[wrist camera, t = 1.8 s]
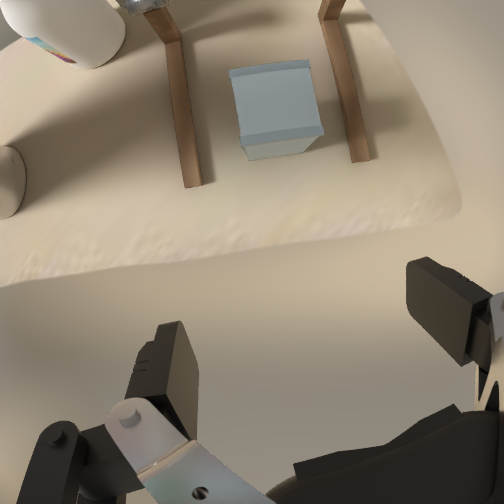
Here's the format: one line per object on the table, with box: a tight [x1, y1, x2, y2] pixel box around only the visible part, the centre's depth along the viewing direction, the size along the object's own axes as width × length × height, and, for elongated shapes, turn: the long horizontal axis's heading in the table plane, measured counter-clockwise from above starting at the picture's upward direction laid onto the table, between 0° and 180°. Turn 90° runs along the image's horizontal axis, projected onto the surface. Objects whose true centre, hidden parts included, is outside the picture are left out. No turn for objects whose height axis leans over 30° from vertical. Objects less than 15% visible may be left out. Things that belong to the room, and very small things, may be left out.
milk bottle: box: [0, 0, 126, 69], centre depth 18 cm, size 8×8×20 cm
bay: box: [143, 0, 370, 188], centre depth 25 cm, size 18×17×8 cm
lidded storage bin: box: [228, 60, 324, 161], centre depth 24 cm, size 5×5×11 cm
